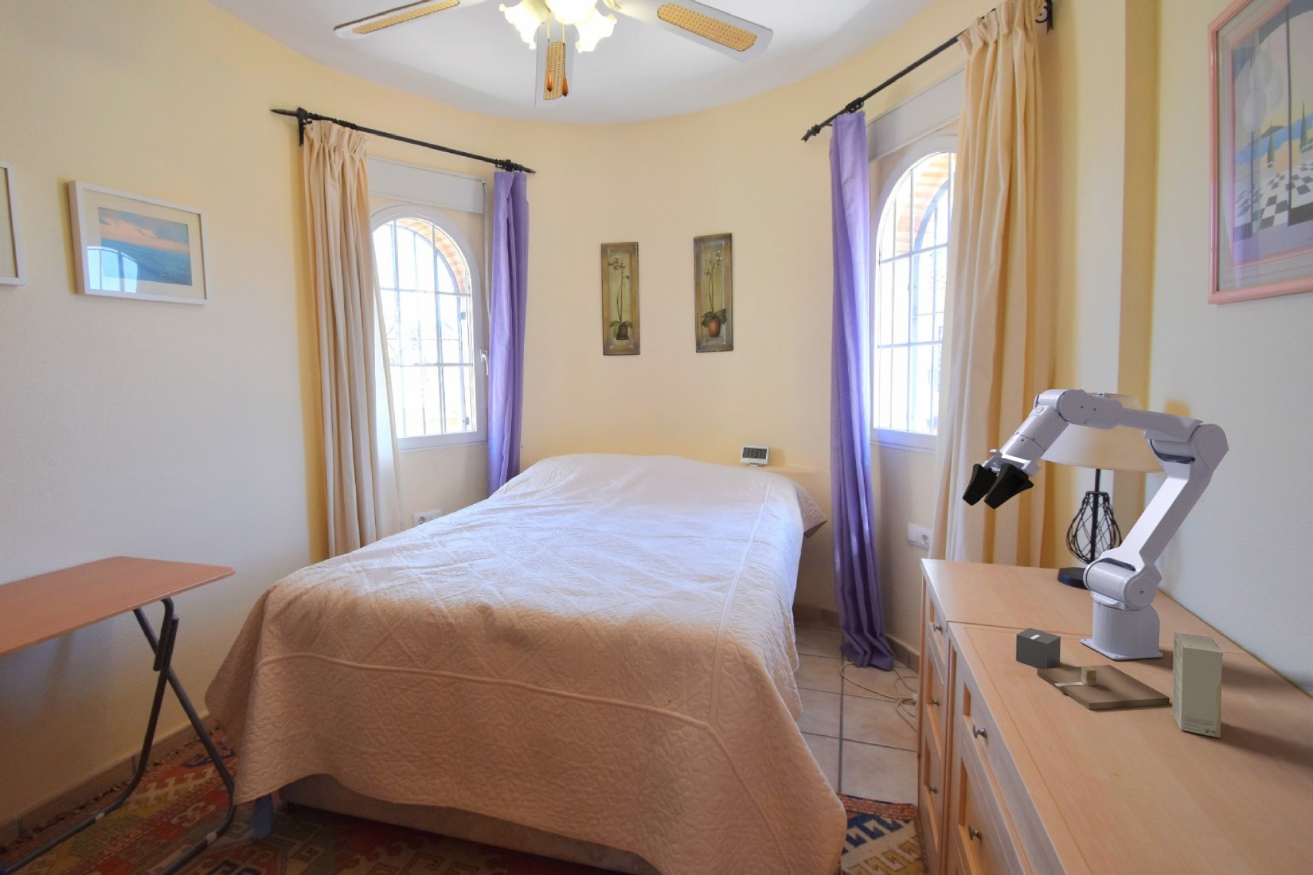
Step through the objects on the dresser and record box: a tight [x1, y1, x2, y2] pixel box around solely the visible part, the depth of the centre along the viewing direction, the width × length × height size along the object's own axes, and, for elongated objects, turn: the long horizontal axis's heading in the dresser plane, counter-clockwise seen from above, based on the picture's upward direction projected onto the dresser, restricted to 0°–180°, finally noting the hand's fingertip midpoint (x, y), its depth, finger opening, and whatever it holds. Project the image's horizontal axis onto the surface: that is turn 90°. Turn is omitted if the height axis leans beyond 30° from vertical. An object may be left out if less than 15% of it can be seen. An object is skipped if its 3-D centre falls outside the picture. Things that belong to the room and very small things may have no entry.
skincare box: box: [1172, 632, 1224, 739], centre depth 85 cm, size 6×4×12 cm
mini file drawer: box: [1015, 627, 1062, 669], centre depth 105 cm, size 5×5×5 cm
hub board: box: [1036, 664, 1171, 710], centre depth 96 cm, size 14×11×4 cm
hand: (977, 503), depth 104 cm, fingers open, 7 cm apart
